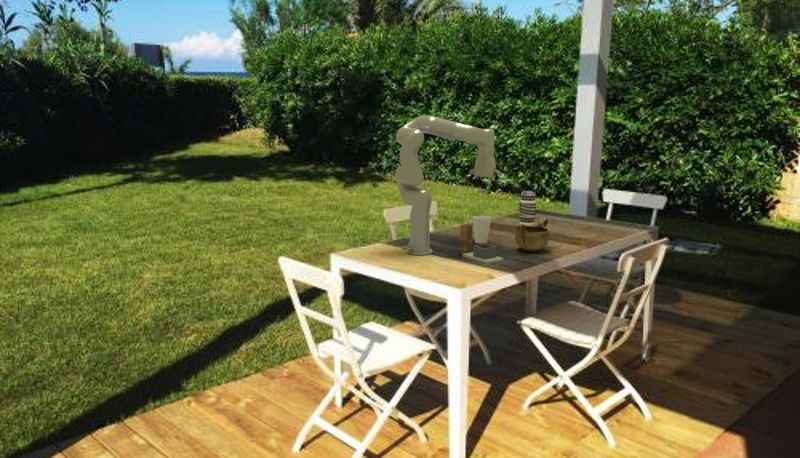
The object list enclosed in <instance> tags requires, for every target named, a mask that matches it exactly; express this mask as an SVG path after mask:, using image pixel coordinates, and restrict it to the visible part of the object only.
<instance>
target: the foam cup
mask: <svg viewBox="0 0 800 458" xmlns="http://www.w3.org/2000/svg"><path fill="white" fill-rule="evenodd" d="M491 220H492V217H491V216H488V215H474V216H472V228H473V232H474V233H473V235H474V243H476V244H488V240H489V239H488V238H489V233H490V228H491V223H492V221H491Z"/></svg>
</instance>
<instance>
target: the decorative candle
mask: <svg viewBox="0 0 800 458" xmlns="http://www.w3.org/2000/svg"><path fill="white" fill-rule="evenodd" d="M536 196H537V194H536V193H535V192H534V191H532V190H523V191H522V192H521V193H520V202H519V203H518V205H519V206H518V211H519V214H518V215H519V223H520V224H524V225H525V226H536V225H535V217H536V215H537V213H536V212H537V210H536V209H537V203H536V202H537V201H536Z"/></svg>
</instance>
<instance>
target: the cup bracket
mask: <svg viewBox="0 0 800 458" xmlns="http://www.w3.org/2000/svg"><path fill="white" fill-rule="evenodd" d="M472 248H473V249H472V250H473V251H472V252H470V253H465V254H462V257H464V258H466V259H470V260H474V261H476V262H480V263H483V264H493V263H497V262H499V263H500V262H503V261H504V257H500V256H498V255H497V251H498V250H497V249H498V247H497V246H496V245H493V244H489V243H480V244H477V245H476V244H475V245H472Z"/></svg>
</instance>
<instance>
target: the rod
mask: <svg viewBox="0 0 800 458" xmlns="http://www.w3.org/2000/svg"><path fill="white" fill-rule="evenodd" d="M459 227H460V229H459V230H460V231H459V233H460V234H459V236H460V238H459V254H461V255H463V254H465V253H470V252H473V251H472V250H473V249H472V248H473V245H472V244H473V224H470V223H464V224H460V226H459Z"/></svg>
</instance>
